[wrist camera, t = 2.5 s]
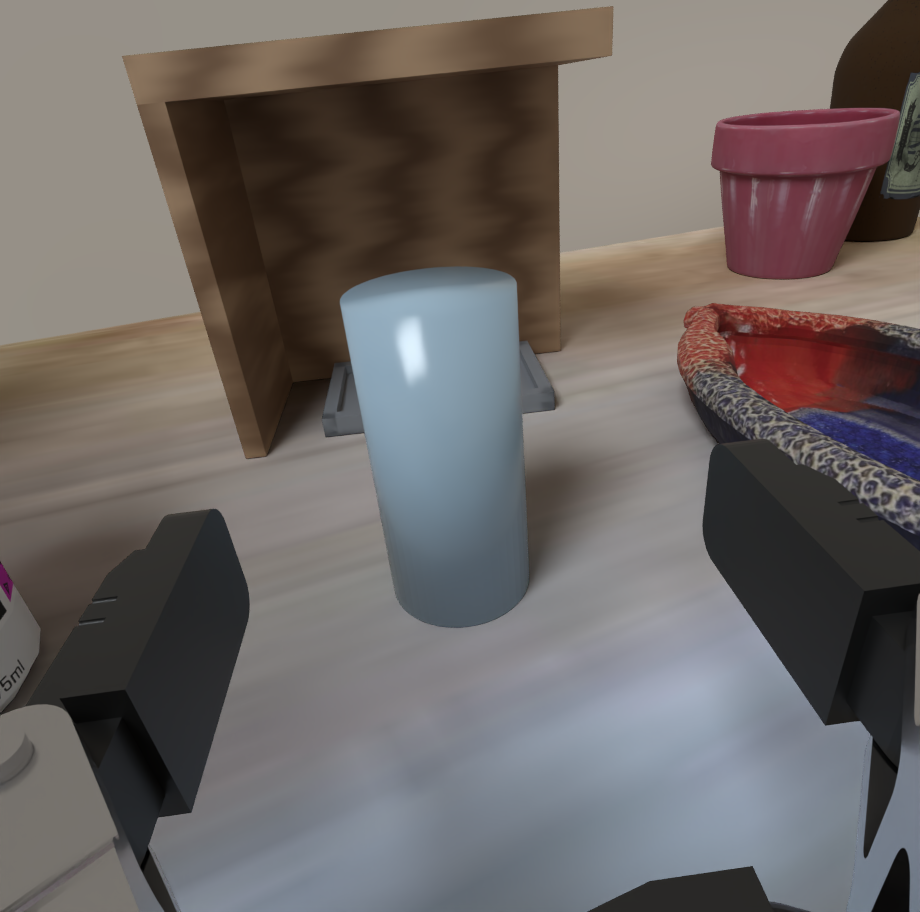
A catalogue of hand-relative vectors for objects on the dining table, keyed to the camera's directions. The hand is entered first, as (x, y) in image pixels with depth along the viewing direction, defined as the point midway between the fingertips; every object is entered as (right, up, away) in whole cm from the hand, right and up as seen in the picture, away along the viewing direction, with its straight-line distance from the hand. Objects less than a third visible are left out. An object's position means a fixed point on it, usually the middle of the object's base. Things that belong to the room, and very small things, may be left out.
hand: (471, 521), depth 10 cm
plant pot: (+30, +19, +49) cm, 61 cm away
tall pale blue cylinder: (0, -4, +16) cm, 16 cm away
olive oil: (+43, +25, +58) cm, 76 cm away
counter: (-3, +5, +31) cm, 32 cm away
